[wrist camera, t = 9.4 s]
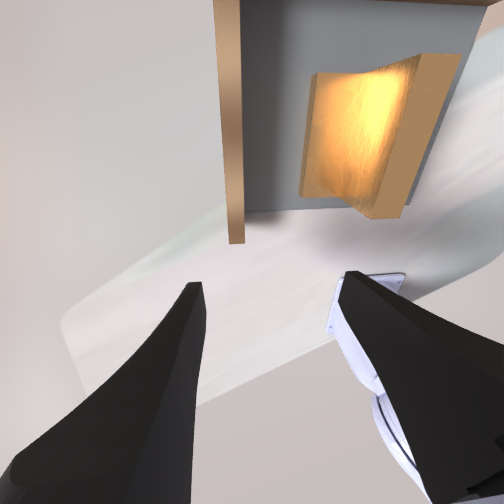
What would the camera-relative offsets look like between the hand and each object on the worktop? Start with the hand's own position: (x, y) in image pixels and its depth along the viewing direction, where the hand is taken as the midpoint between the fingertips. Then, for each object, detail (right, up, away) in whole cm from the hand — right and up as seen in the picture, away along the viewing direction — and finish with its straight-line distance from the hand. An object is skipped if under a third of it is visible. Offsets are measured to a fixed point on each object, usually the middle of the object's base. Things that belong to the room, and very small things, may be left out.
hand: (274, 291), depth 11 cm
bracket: (+5, +11, +6) cm, 13 cm away
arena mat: (+6, +12, +6) cm, 14 cm away
